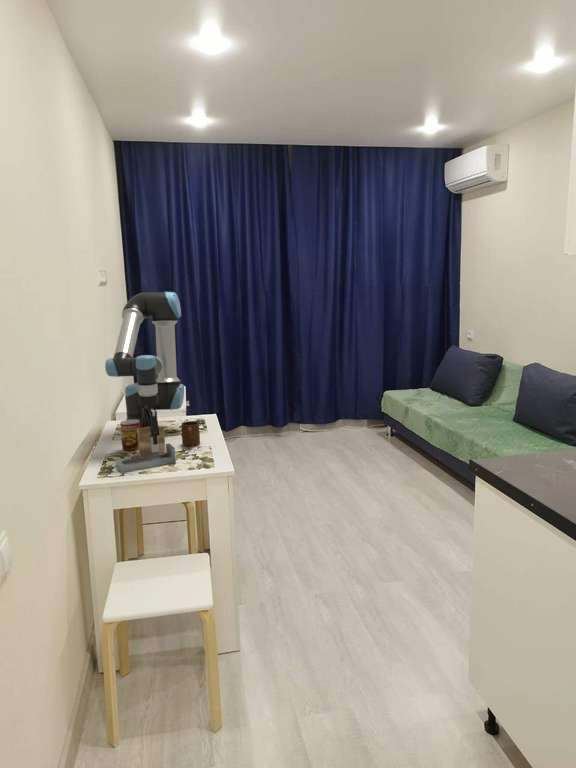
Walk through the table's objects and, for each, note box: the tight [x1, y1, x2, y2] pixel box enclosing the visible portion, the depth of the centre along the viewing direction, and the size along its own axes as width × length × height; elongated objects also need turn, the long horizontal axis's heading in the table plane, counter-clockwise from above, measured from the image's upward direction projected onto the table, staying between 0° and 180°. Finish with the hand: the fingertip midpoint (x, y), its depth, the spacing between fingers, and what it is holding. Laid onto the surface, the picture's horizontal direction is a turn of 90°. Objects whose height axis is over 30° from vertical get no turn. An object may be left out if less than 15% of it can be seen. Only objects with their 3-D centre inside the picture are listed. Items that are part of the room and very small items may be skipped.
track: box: [115, 443, 177, 473], centre depth 219 cm, size 7×21×6 cm, turn 118°
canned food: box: [119, 419, 140, 453], centre depth 239 cm, size 8×8×12 cm
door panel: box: [137, 424, 166, 457], centre depth 229 cm, size 3×10×12 cm, turn 118°
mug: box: [180, 420, 201, 447], centre depth 242 cm, size 12×8×9 cm, turn 7°
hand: (152, 448), depth 229 cm, fingers open, 10 cm apart
